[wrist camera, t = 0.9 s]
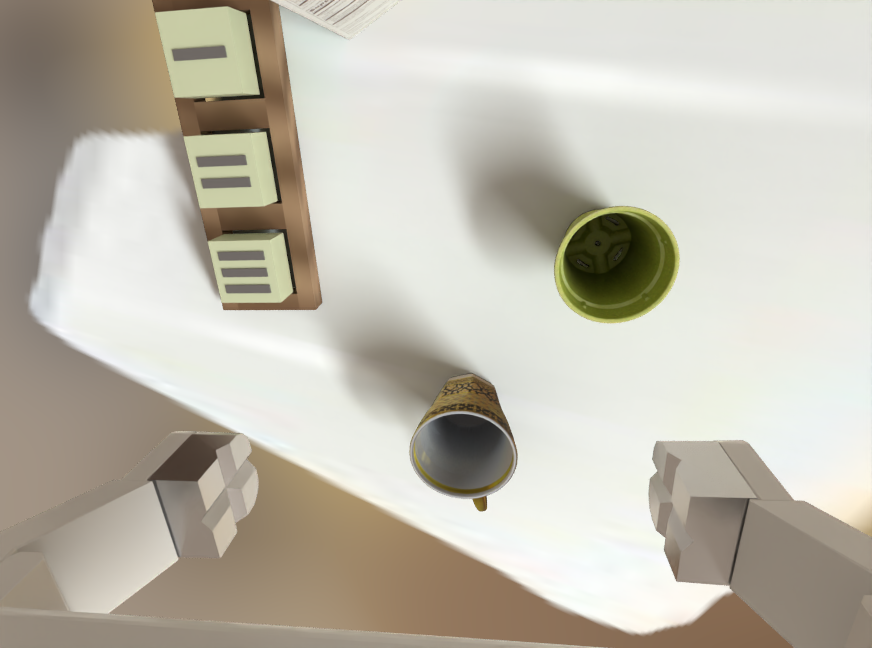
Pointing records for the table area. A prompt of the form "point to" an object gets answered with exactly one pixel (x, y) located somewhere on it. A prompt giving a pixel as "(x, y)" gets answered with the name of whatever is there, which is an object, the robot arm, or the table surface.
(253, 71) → the tile one
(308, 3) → the supplement box
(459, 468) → the ceramic cup
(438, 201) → the table surface
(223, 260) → the tile three
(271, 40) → the frame
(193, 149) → the tile two
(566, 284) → the plant pot
